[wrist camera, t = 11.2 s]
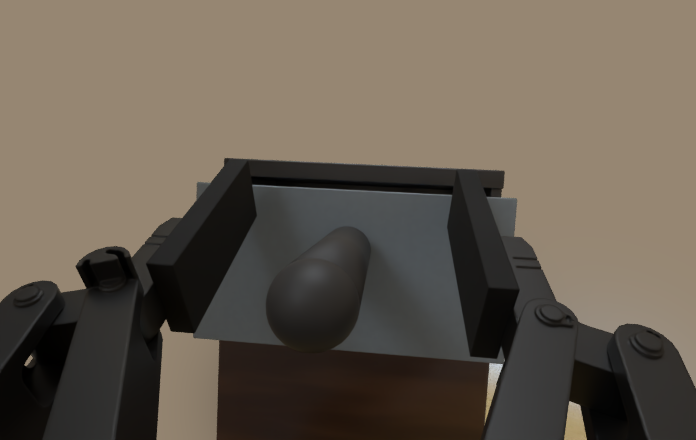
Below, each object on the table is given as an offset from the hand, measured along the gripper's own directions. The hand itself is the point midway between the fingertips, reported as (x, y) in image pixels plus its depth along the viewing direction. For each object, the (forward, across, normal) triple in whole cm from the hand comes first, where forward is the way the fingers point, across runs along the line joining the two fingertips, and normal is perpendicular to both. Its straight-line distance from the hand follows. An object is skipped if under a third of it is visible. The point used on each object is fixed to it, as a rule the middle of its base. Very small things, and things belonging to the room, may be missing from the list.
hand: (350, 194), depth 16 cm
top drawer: (-3, 0, -6) cm, 7 cm away
